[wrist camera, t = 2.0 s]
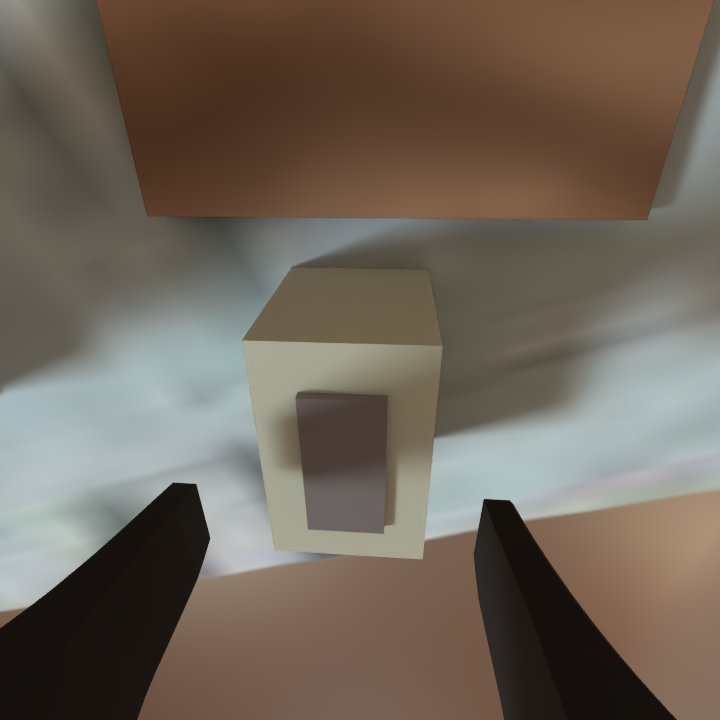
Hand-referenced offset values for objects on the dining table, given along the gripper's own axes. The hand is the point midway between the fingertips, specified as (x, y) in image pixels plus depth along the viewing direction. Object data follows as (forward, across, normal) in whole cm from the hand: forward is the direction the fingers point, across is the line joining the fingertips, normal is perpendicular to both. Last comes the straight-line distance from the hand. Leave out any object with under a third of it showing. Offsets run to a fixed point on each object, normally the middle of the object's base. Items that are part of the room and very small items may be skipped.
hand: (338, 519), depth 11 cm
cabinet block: (+8, 0, 0) cm, 8 cm away
